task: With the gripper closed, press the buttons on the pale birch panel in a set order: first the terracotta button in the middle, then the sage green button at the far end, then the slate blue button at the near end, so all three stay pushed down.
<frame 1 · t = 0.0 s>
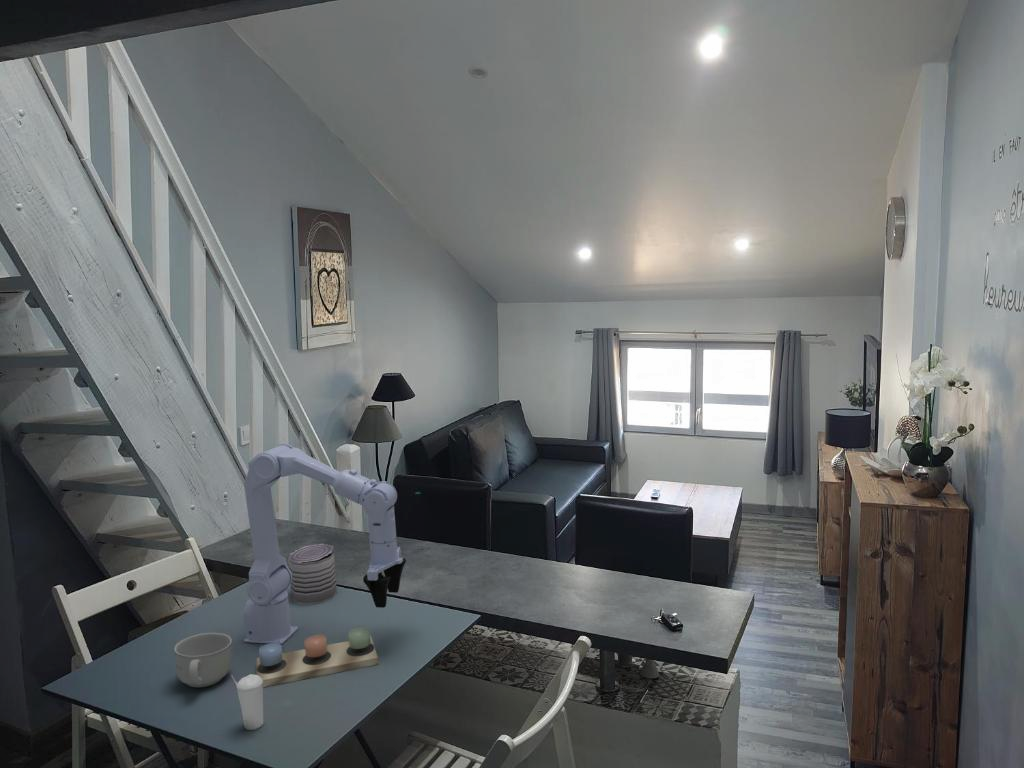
hand: (387, 599, 163), 10 cm above the table, tool pointing down, fingers open, 7 cm apart
terracotta button: (315, 645, 155), point 4 cm above the table, slide at 0.0 cm
button panel: (317, 664, 156), on the table
slate button: (270, 654, 153), point 4 cm above the table, slide at 0.0 cm
sage button: (359, 637, 158), point 4 cm above the table, slide at 0.0 cm
milkshake: (251, 726, 135), on the table
can: (314, 596, 192), on the table
teacup: (203, 684, 150), on the table
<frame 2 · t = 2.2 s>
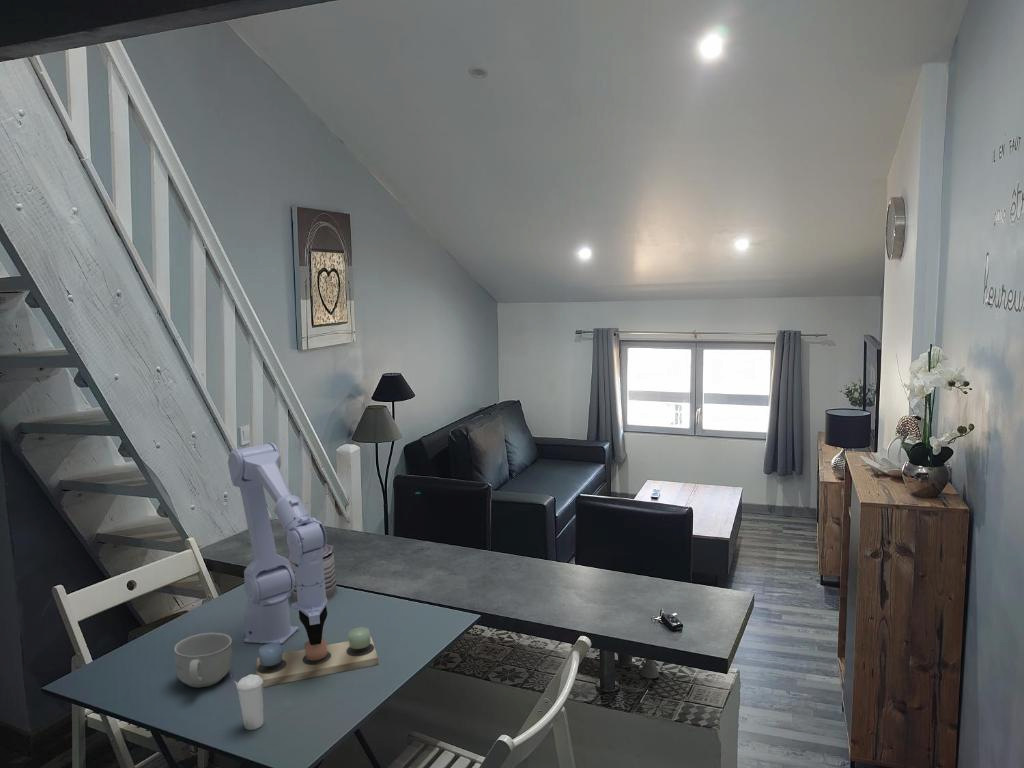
hand: (315, 643, 155), 5 cm above the table, tool pointing down, fingers closed, pressing on terracotta button
terracotta button: (316, 649, 155), point 3 cm above the table, slide at 0.7 cm, touching gripper
everything else where it was.
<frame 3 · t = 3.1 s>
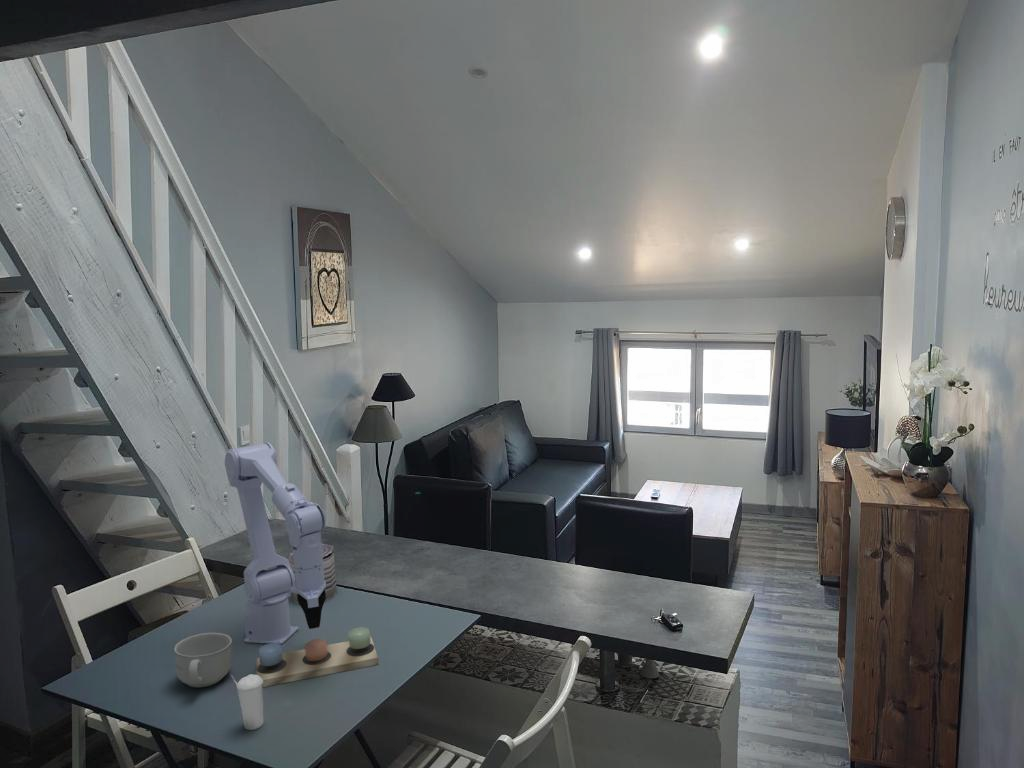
hand: (314, 626, 155), 8 cm above the table, tool pointing down, fingers closed
terracotta button: (316, 650, 155), point 3 cm above the table, slide at 0.9 cm
everything else where it was.
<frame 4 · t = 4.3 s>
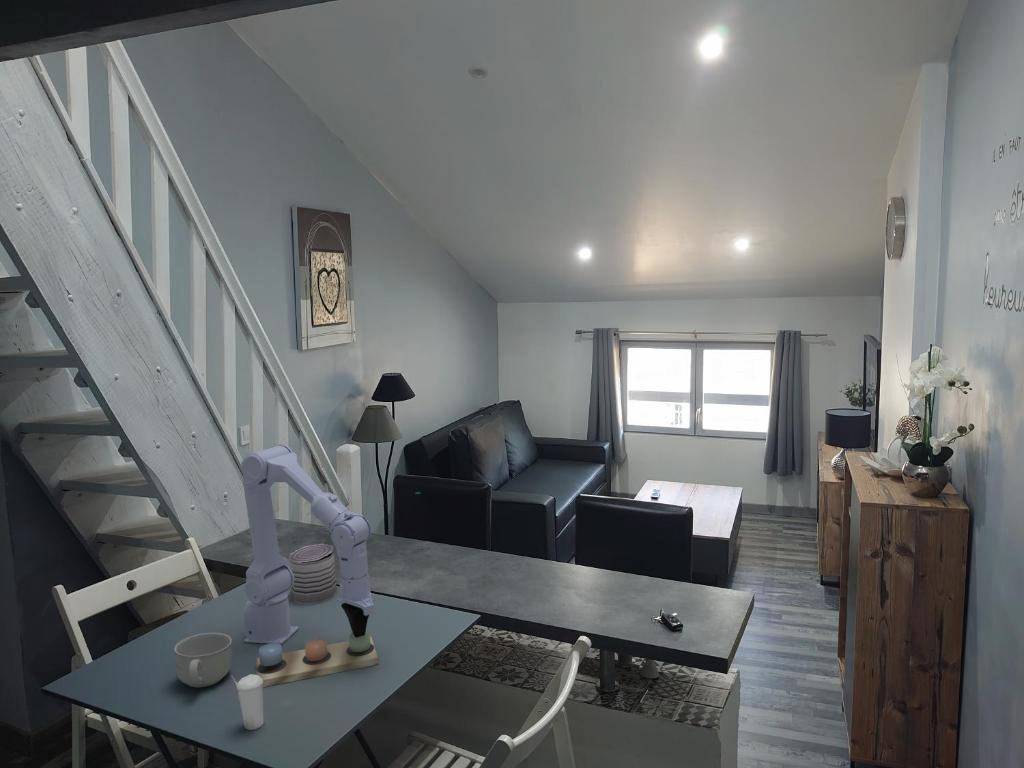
hand: (359, 635, 158), 5 cm above the table, tool pointing down, fingers closed, pressing on sage button
sage button: (359, 641, 158), point 3 cm above the table, slide at 0.8 cm, touching gripper
everything else where it was.
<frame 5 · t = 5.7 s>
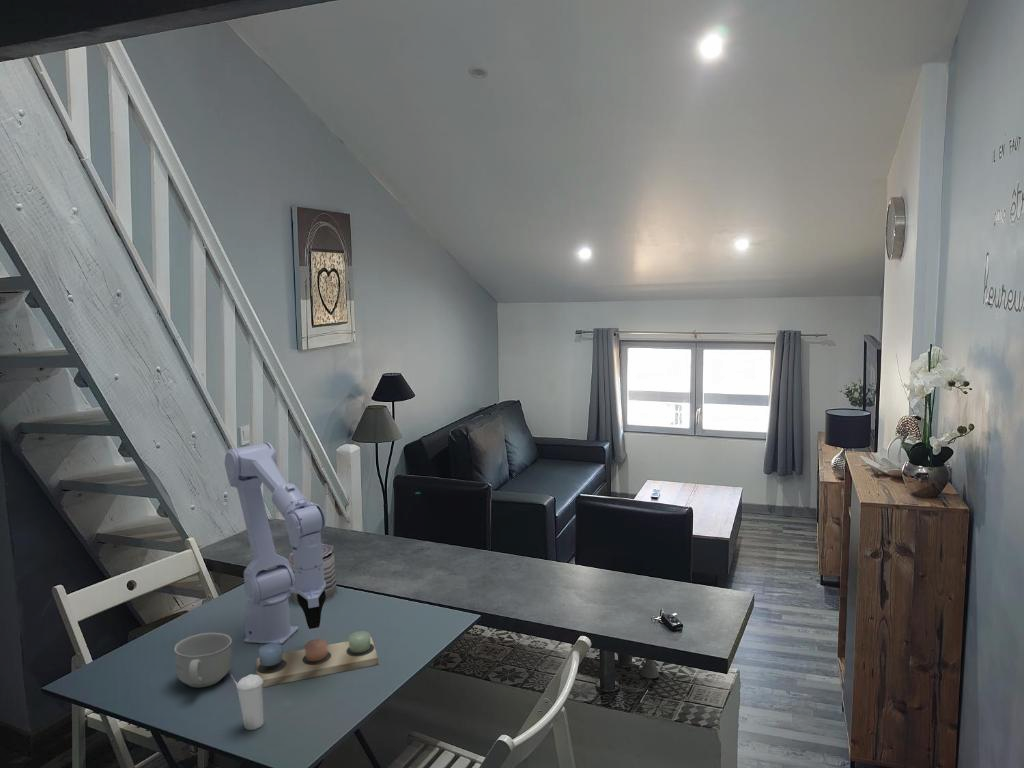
hand: (313, 626, 155), 8 cm above the table, tool pointing down, fingers closed
sage button: (359, 641, 158), point 3 cm above the table, slide at 0.9 cm
everything else where it was.
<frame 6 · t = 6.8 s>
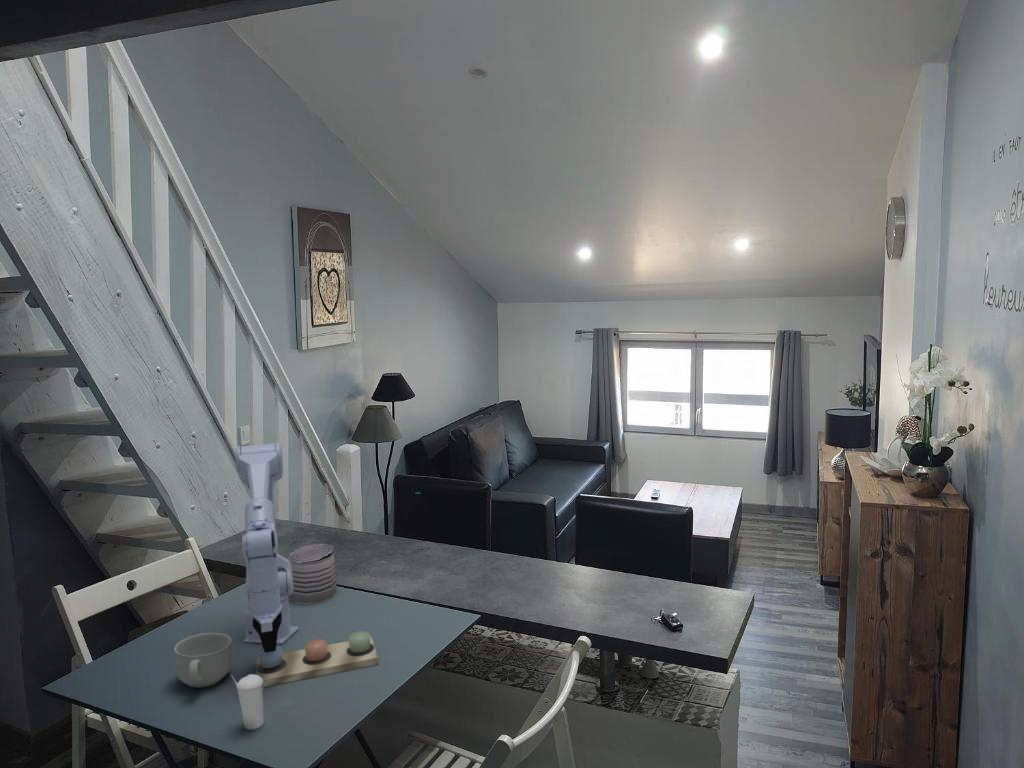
hand: (270, 650, 152), 5 cm above the table, tool pointing down, fingers closed, pressing on slate button
slate button: (270, 656, 153), point 4 cm above the table, slide at 0.4 cm, touching gripper
everything else where it was.
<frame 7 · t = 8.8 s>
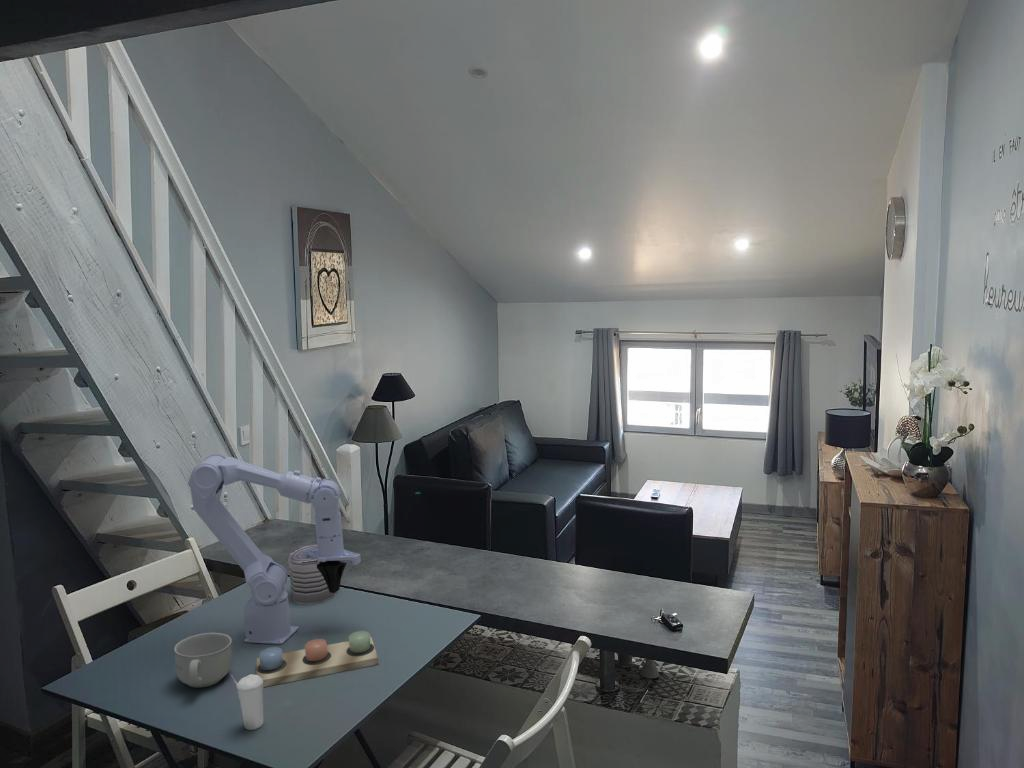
hand: (334, 591, 170), 9 cm above the table, tool pointing down, fingers closed
slate button: (271, 658, 153), point 3 cm above the table, slide at 0.9 cm
everything else where it was.
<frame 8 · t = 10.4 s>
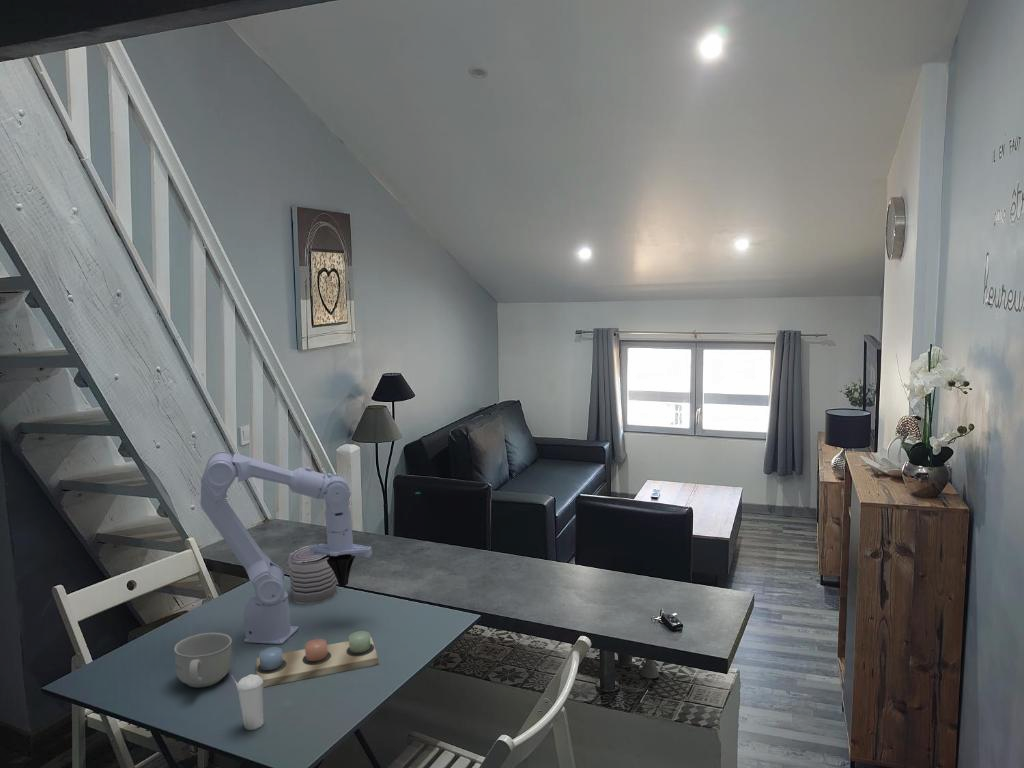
hand: (343, 585, 173), 9 cm above the table, tool pointing down, fingers closed
nothing on the table moved.
at the end: terracotta button slide at 0.9 cm; sage button slide at 0.9 cm; slate button slide at 0.9 cm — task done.
